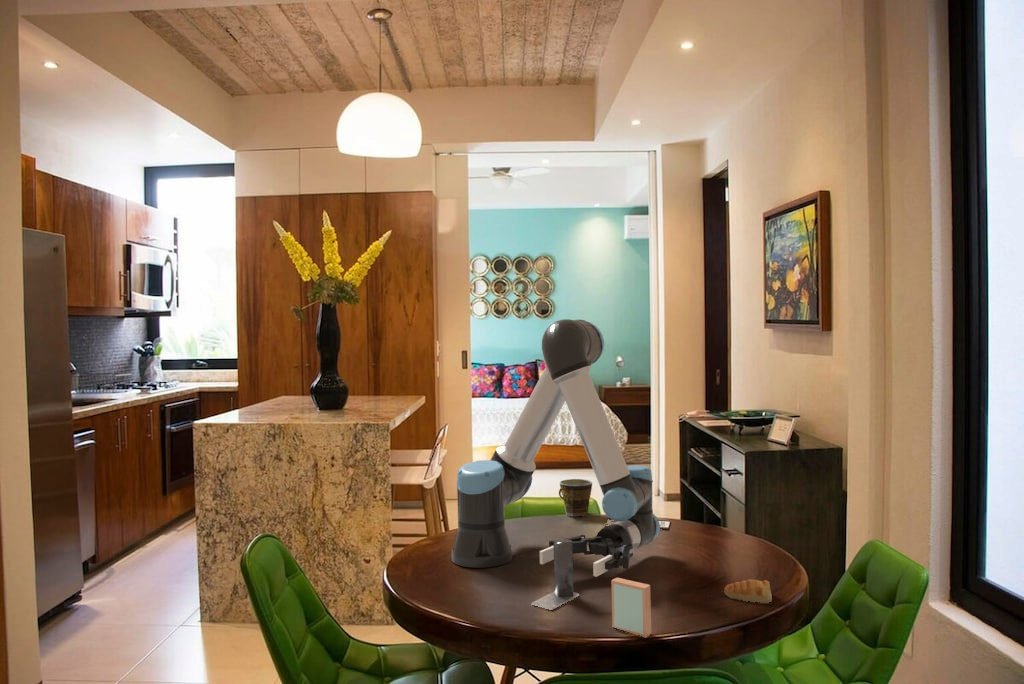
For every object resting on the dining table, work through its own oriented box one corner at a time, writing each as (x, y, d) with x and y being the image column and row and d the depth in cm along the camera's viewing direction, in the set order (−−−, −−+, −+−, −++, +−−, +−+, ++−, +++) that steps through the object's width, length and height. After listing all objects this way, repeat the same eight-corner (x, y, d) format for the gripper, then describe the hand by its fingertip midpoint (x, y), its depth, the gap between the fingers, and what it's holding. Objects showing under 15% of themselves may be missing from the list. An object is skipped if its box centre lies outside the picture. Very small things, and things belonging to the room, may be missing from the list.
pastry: (725, 602, 143) (725, 583, 143) (723, 591, 149) (722, 573, 149) (773, 605, 141) (773, 586, 141) (769, 593, 147) (769, 575, 147)
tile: (612, 628, 131) (611, 580, 131) (617, 624, 132) (616, 577, 132) (645, 637, 126) (644, 588, 126) (651, 634, 128) (650, 585, 128)
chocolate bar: (608, 517, 210) (670, 520, 204) (608, 520, 210) (670, 523, 204) (603, 524, 201) (667, 528, 196) (603, 528, 201) (667, 531, 196)
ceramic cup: (574, 509, 222) (573, 477, 222) (599, 514, 216) (598, 481, 215) (547, 517, 213) (546, 484, 213) (572, 522, 206) (572, 488, 206)
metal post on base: (531, 605, 143) (530, 549, 143) (559, 591, 150) (558, 537, 150) (551, 611, 140) (550, 553, 139) (579, 596, 147) (578, 541, 147)
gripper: (667, 565, 156) (619, 593, 140) (573, 546, 172) (520, 570, 155) (666, 532, 156) (618, 556, 140) (572, 516, 172) (520, 536, 155)
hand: (567, 563), depth 147 cm, fingers open, 13 cm apart
